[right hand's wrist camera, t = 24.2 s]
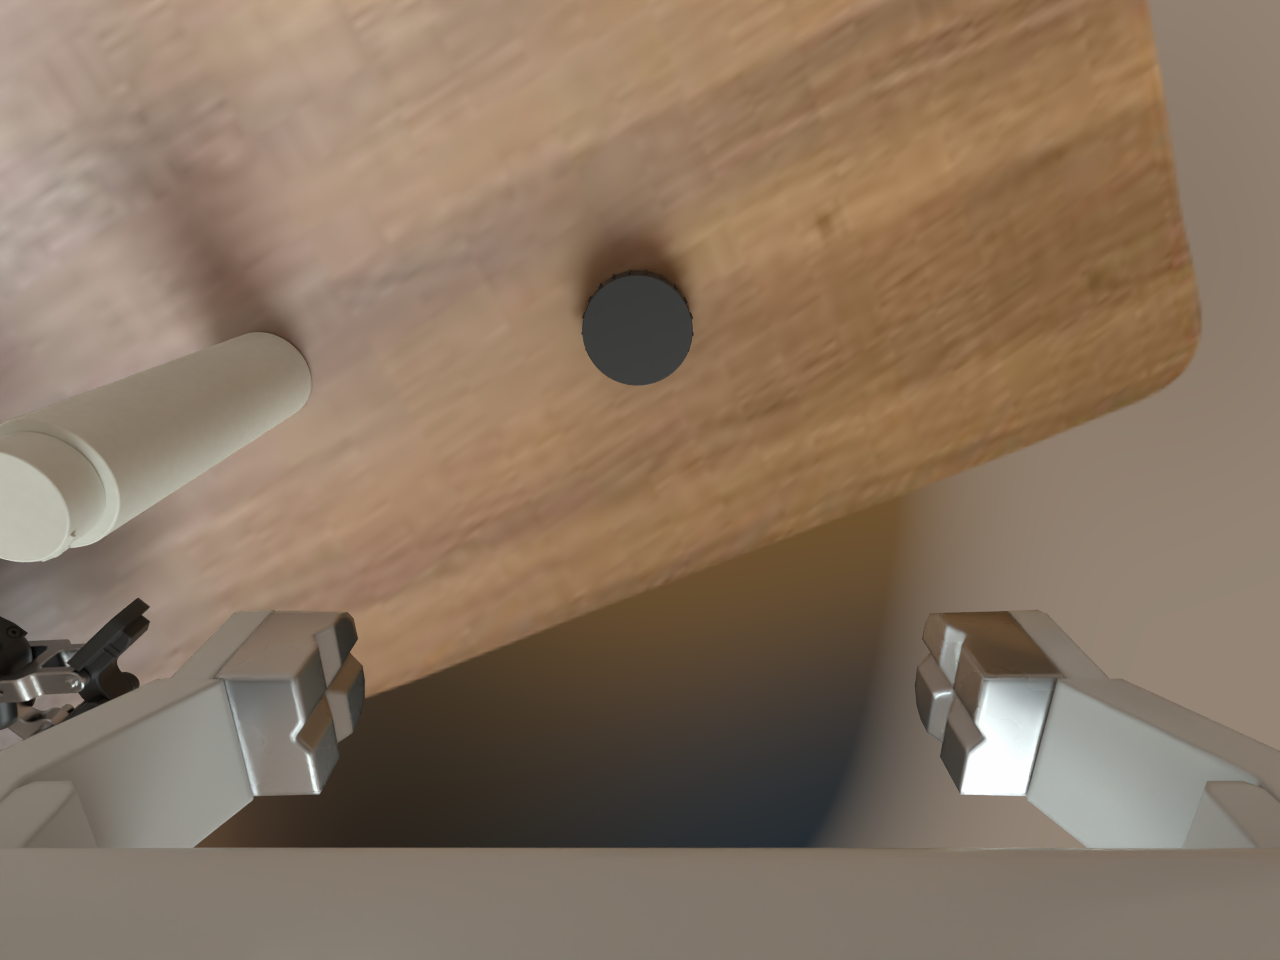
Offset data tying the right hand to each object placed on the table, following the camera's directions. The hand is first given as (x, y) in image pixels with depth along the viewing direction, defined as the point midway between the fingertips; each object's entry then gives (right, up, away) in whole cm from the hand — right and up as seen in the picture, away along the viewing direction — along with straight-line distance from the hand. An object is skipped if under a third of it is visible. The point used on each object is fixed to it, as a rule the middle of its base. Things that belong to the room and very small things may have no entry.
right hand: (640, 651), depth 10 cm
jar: (-19, +8, +27) cm, 33 cm away
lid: (0, +10, +24) cm, 26 cm away
